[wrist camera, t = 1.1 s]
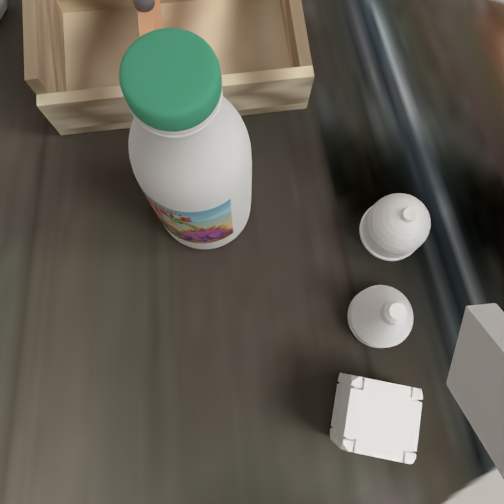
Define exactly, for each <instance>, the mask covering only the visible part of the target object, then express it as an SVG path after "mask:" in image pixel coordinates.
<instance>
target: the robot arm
mask: <svg viewBox="0 0 504 504" xmlns="http://www.w3.org/2000/svg"><path fill="white" fill-rule="evenodd" d="M446 385H447V387H448V388H449V390H450V391H451V393H452V395H453V396H454V398H455V400H456V401H457V403H458V405H459V406H460V408H461V410H462V411H463V413H464V414H465V416H466V418H467V419H468V421H469V423H470V424H471V426H472V428H473V429H474V431H475V433H476V434H477V436H478V437H479V439H480V441H481V442H482V444H483V446H484V447H485V449H486V451H487V452H488V454H489V456H490V457H491V459H492V460H493V462H494V464H495V465H496V467H497V469H498V470H499V472H500V474H501V475H502V477H503V479H504V312H503V311H502V309H501V308H500V307H499V306H498V305H497V304H496V303H490V304H480V305H469V306H466V308H465V312H464V316H463V320H462V324H461V328H460V332H459V335H458V339H457V343H456V347H455V351H454V355H453V358H452V362H451V366H450V370H449V374H448V378H447V382H446Z"/></svg>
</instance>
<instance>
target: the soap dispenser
mask: <svg viewBox="0 0 504 504" xmlns="http://www.w3.org/2000/svg"><path fill="white" fill-rule="evenodd" d="M6 9H7V0H0V20H1V18H2V16H3V15H4V13H5V11H6Z"/></svg>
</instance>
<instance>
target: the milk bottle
mask: <svg viewBox="0 0 504 504" xmlns="http://www.w3.org/2000/svg"><path fill="white" fill-rule="evenodd" d="M119 81H120V87H121V90H122V93H123V96H124V98H125V100H126V102H127V104H128V106H129V108H130V110H131V113H132V115H133V116H134V119H133V121H132V124H131V128H130V133H129V141H128V147H129V158H130V162H131V166H132V169H133V172H134V175H135V177H136V179H137V181H138V183H139V185H140V187H141V189H142V191H143V193H144V194H145V196H146V198H147V199H148V201H149V203H150V204H151V206H152V208H153V209H154V211H155V212H156V214H157V216H158V217H159V219H160V220H161V222H162V223H163V225H164V227H165V228H166V229H167V231H168V232H169V233H170V234H171V235H172V236H173V237H174V238H175V239H176V240H177V241H179V242H180V243H182V244H184V245H186V246H188V247H191V248H195V249H214V248H218V247H221V246H223V245H225V244H227V243H229V242H231V241H232V240H233V239H235V238H236V237H237V236H238V235H239V234H240V233H241V231H242V230H243V229H244V227H245V225H246V223H247V221H248V218H249V214H250V208H251V188H252V156H251V144H250V139H249V135H248V132H247V129H246V126H245V124H244V122H243V120H242V118H241V116H240V114H239V113H238V111H237V110H236V109H235V107H234V106H233V105H232V104H231V103H230V102H229V101H228V100H227V99H226V98H225V97H224V96H223V90H222V77H221V70H220V65H219V61H218V59H217V56H216V55H215V53H214V51H213V49H212V48H211V47H210V45H209V44H208V43H207V42H206V41H205V40H204V39H202V38H201V37H200V36H198V35H196V34H195V33H193V32H190V31H187V30H184V29H179V28H162V29H157V30H154V31H151V32H148V33H146V34H144V35H142V36H141V37H139V38H138V39H137V40H135V41H134V42H133V43H132V44H131V45H130V46H129V48H128V49H127V50H126V52H125V54H124V56H123V58H122V60H121V64H120V69H119Z"/></svg>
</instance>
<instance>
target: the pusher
mask: <svg viewBox="0 0 504 504" xmlns="http://www.w3.org/2000/svg"><path fill="white" fill-rule="evenodd" d="M133 3H134V6H135V8H136V10H137V14H138V25H139V37H141V36H142V35H144V34H146V33H148V32H151V31H154V30H157V29H162V28H163V23H162V13H161V4H160V0H133Z"/></svg>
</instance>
